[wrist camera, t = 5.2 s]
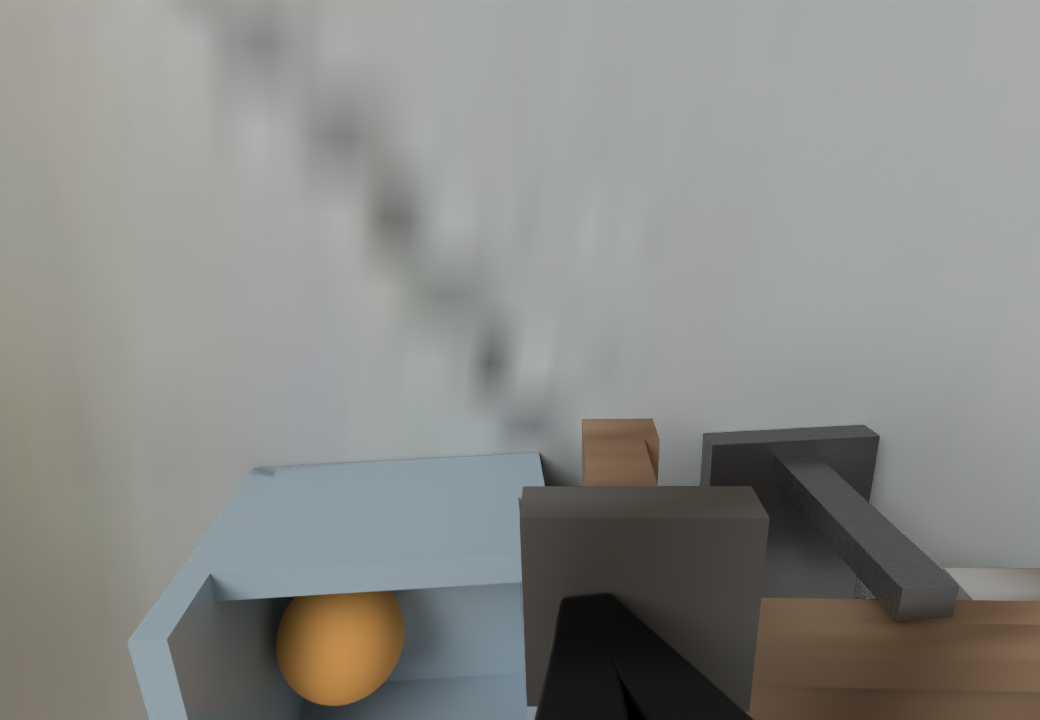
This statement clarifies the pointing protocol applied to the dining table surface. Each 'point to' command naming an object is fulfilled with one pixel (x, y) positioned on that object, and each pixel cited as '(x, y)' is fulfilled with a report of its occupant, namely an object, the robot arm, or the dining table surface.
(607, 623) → the robot arm
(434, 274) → the dining table surface
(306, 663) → the ball
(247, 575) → the box
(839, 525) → the pivot stand
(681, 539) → the lever
